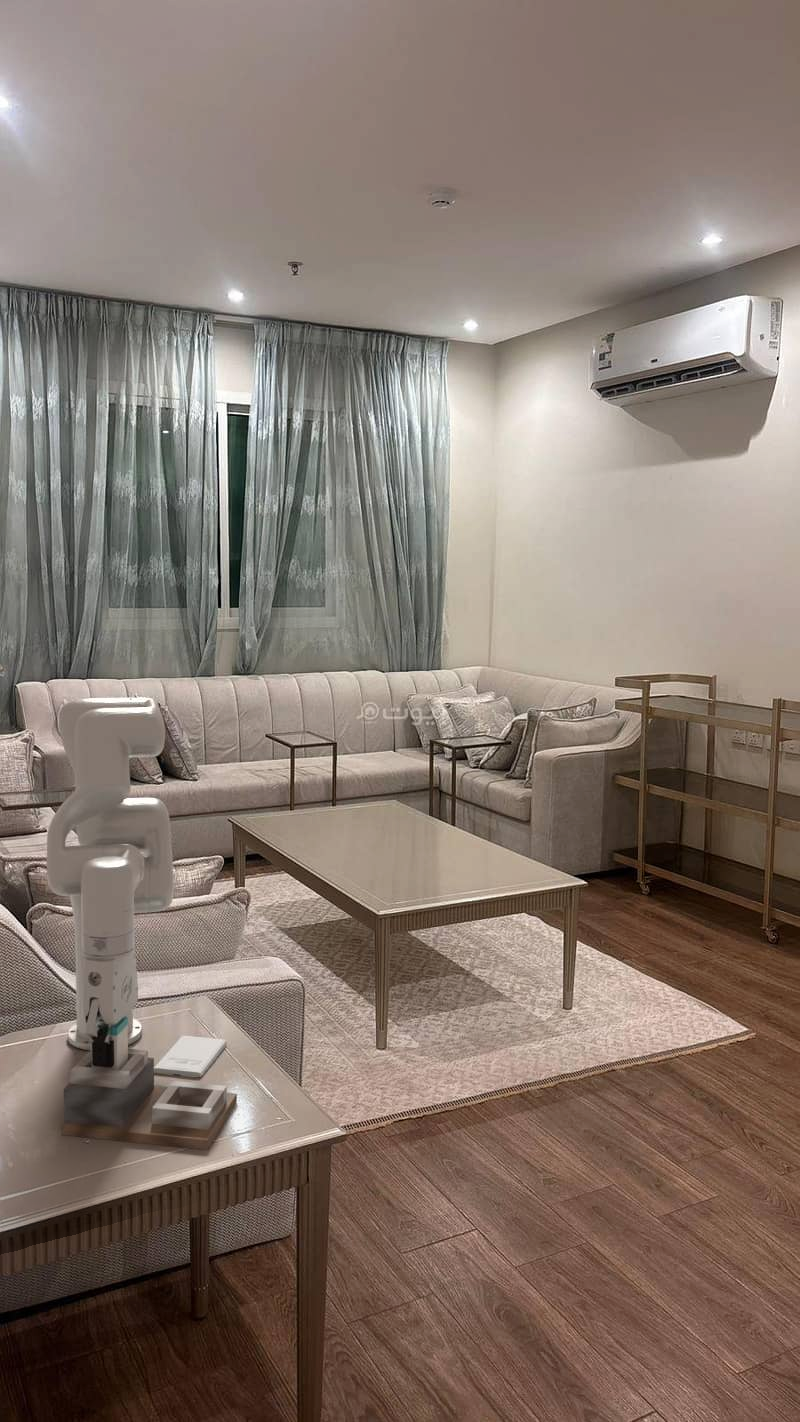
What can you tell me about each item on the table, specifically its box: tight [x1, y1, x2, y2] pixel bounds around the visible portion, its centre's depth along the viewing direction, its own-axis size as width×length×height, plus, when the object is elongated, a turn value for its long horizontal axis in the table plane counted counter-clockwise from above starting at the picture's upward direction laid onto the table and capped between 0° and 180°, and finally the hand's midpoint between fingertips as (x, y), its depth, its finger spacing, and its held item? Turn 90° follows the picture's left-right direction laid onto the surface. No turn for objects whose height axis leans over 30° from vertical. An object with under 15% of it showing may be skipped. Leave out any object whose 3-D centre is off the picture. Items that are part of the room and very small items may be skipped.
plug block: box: [91, 1017, 129, 1070], centre depth 162 cm, size 4×4×8 cm
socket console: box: [60, 1048, 238, 1151], centre depth 162 cm, size 22×14×8 cm, turn 81°
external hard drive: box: [154, 1035, 227, 1078], centre depth 182 cm, size 2×8×12 cm
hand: (109, 1057), depth 162 cm, fingers closed on plug block, 4 cm apart
